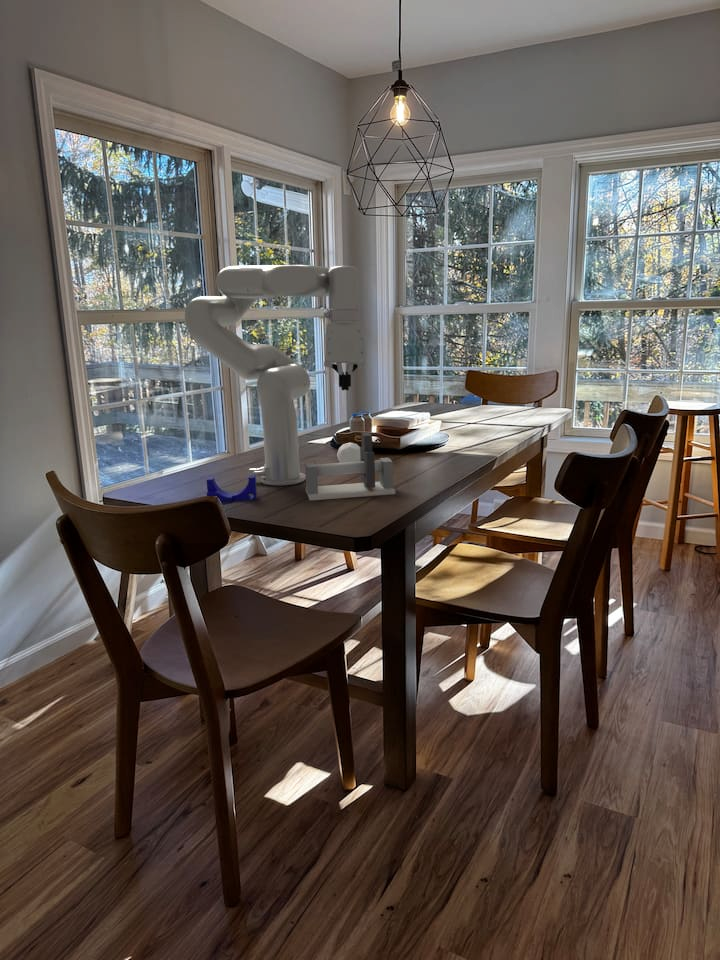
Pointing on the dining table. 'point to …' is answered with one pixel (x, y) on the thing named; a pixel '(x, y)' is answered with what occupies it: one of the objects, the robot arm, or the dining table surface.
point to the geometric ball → (349, 453)
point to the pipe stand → (348, 489)
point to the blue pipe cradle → (229, 497)
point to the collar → (367, 460)
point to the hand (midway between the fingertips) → (344, 389)
